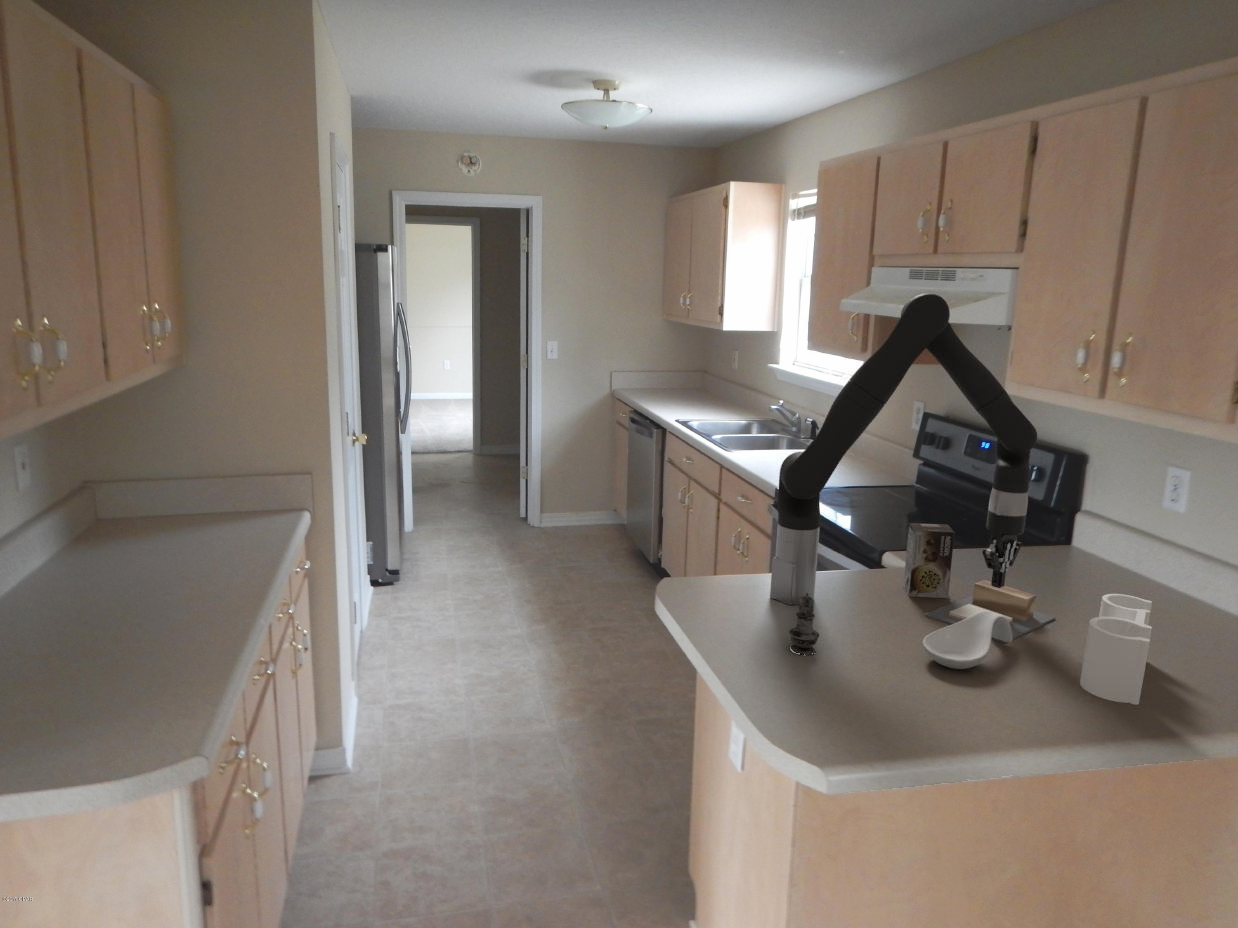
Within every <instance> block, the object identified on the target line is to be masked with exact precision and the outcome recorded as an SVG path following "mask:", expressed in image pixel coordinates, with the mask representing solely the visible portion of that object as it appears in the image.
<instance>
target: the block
mask: <svg viewBox="0 0 1238 928" xmlns="http://www.w3.org/2000/svg"><path fill="white" fill-rule="evenodd" d="M991 582H992V581H989V580H986V579H982V580H980V581H977V582H975V583H974V586H973V602H972V604H973V605H976V606H979V607H982V608H985V609H988V610H991V611H994V612H997V613H1000V614H1003V615H1006V616H1009V617H1013V618H1016V619H1019V620H1022V621H1026V620H1028V619H1030V618H1032V617H1033V614H1034V611H1035V606H1036V598H1037V595H1036V594H1032V593H1029V592H1026V591H1022V590H1019V589H1017V588H1012V587H1009V586H1005V585H1004V587H1001V588H997V587H993V586H992V585H991Z"/></svg>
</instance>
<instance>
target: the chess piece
mask: <svg viewBox="0 0 1238 928" xmlns="http://www.w3.org/2000/svg"><path fill="white" fill-rule="evenodd" d="M805 595H806V596H804V597H801V598H800V600H799V604H798V611H797V612H796V616H797V618H796V619H797V622H796V625H795V627H792V628H791V629H789V630H788V634H789V639H790V641H791V642H792V646H791V645H790V646H791V649H792V650H793V651H794V652H796V653H800V655H804V654H805V655H812V653H813V654H814V653H816V654H817V649H816V648H814V647H813V646H815V644H816V643H817V642H818V639H819V637H820V633H819V632H818V631H817V630H815V629H814V627H813V623H814V618H815V617H816V616H815V614H814V606H815V599H814V600H813V599H812V598H811V597H809V596H808V595H809V594H808V592H807V593H806V594H805ZM800 655H799V656H800ZM814 655H815V654H814ZM812 656H813V655H812Z"/></svg>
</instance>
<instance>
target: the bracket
mask: <svg viewBox="0 0 1238 928" xmlns="http://www.w3.org/2000/svg"><path fill="white" fill-rule="evenodd" d="M1152 606H1153V601H1151V600H1148V599H1143V598H1140V597H1137V596H1133V595H1128V594H1122V593H1107V594H1104V595H1102V596H1101V603H1100V609H1099V615H1098V616H1095V617H1093V618H1091V619H1090V620H1089V624H1088V630H1087V637H1086V643H1085V648H1084V655H1083V660H1082V668H1081V672H1080V680H1079V684H1080V687H1082V689H1083V690H1085V691H1086V692H1088V693H1089V694H1091V695H1093V696H1096V697H1098V698H1100V699H1105V700H1108V701H1112V702H1116V703H1117V702H1118V703H1125V704H1126V703H1129V704H1131V705H1139V703H1140V700H1141V695H1142V694H1141V693H1142V688H1143V683H1144V682H1143V681H1144V677H1145V671H1146V665H1147V659H1148V654H1149V650H1150V649H1149V647H1150V643H1151V635H1152V629H1153V627H1152V626H1151V625H1149V623H1150V616H1151V613H1152V611H1151V610H1152Z"/></svg>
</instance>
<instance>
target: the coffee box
mask: <svg viewBox="0 0 1238 928" xmlns="http://www.w3.org/2000/svg"><path fill="white" fill-rule="evenodd" d="M954 541H955V531H954V530H953V529H952V527H951V526H950V525H949V524H945V523H944V524H942V523H920V522H919V523H918V522H909V523H908V535H907V543H906V544H907V545H906V554H905V564H904V575H903V586H902V587H903V590H904V592H905V593H906V595H907V596H908V597H913V598H934V599H937V598H938V599H948V598H949V592H950V583H951V574H952V573H951V570H952V561H953V560H952V559H953V552H954V543H955V542H954Z"/></svg>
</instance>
